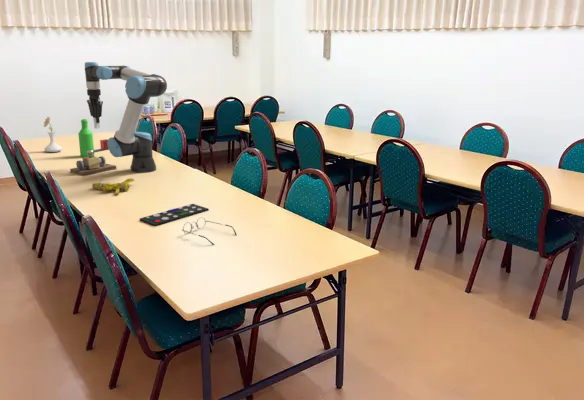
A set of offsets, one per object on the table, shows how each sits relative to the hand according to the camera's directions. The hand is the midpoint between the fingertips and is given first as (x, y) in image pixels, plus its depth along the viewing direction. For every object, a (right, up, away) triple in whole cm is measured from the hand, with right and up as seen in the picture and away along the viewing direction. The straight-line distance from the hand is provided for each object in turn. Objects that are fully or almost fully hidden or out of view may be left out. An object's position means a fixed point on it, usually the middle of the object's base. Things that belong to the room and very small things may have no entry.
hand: (97, 128), depth 306 cm
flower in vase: (-48, -10, +45) cm, 66 cm away
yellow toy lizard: (+24, -39, -40) cm, 60 cm away
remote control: (+66, -52, -78) cm, 114 cm away
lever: (+2, -15, -4) cm, 15 cm away
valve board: (-1, -26, -3) cm, 26 cm away
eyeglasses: (+85, -59, -100) cm, 144 cm away
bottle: (-20, -14, +34) cm, 42 cm away
